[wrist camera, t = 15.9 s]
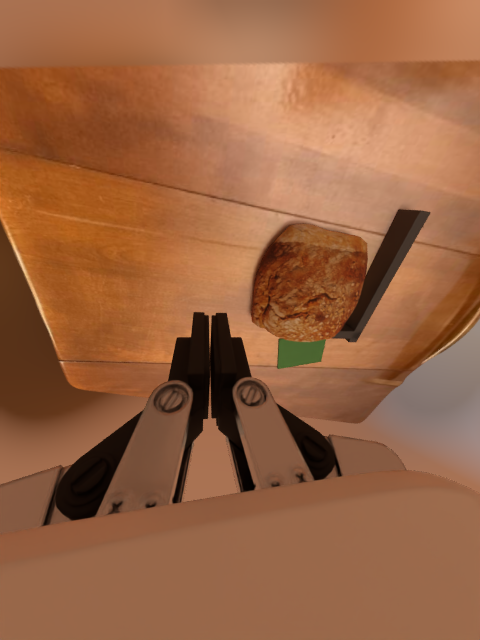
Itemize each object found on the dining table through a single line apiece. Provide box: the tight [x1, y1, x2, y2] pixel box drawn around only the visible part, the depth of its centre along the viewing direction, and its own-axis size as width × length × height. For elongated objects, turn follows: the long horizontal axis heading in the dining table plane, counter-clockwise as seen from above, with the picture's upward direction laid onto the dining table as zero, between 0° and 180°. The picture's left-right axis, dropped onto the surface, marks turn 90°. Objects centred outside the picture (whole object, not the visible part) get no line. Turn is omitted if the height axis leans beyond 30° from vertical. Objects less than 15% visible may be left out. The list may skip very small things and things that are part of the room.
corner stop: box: [332, 210, 430, 342], centre depth 36 cm, size 26×18×4 cm
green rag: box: [278, 339, 326, 369], centre depth 47 cm, size 10×12×1 cm
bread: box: [251, 224, 368, 342], centre depth 32 cm, size 20×18×10 cm
